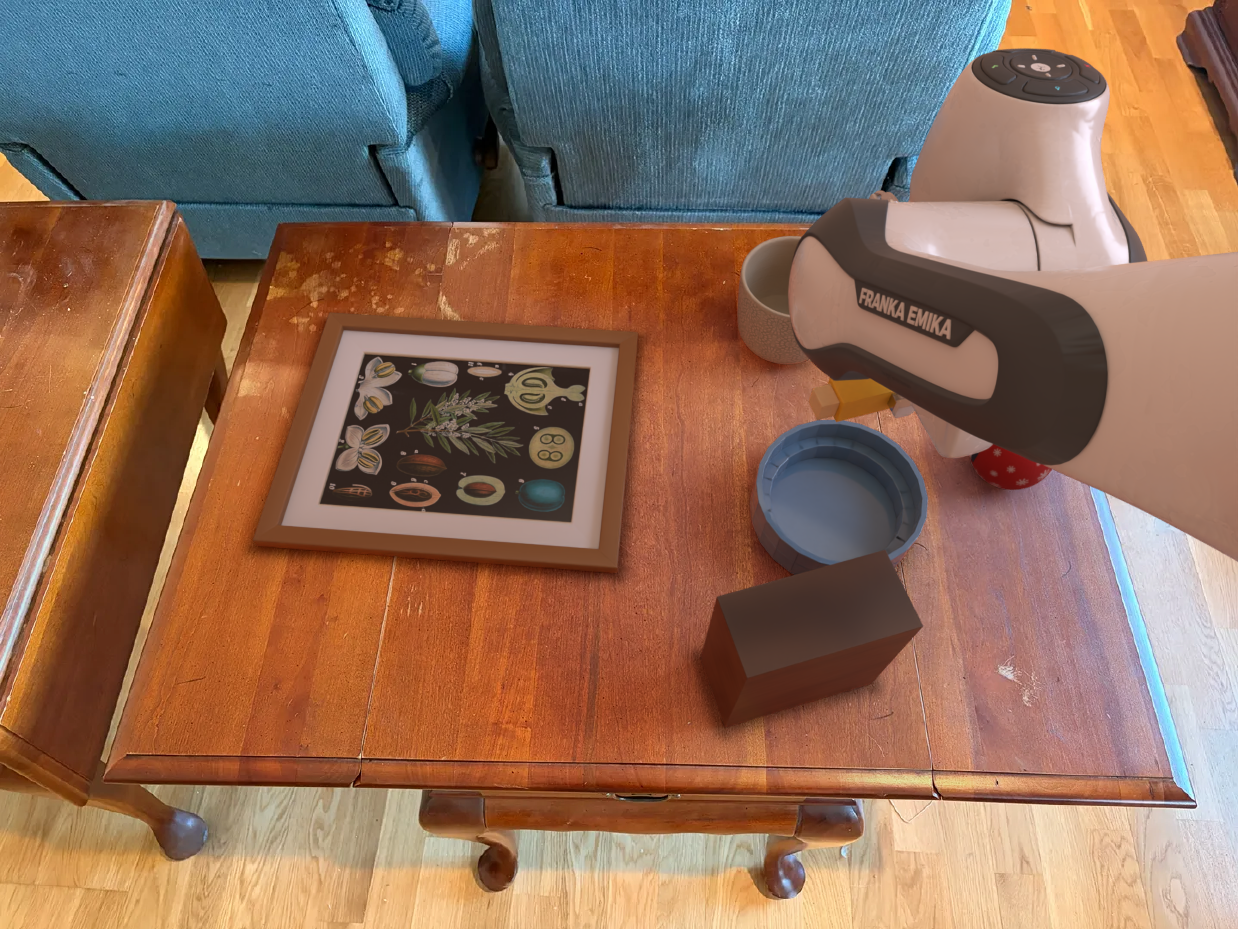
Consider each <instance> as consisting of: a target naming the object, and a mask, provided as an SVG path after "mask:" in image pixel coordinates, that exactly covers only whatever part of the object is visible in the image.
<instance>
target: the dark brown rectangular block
mask: <svg viewBox="0 0 1238 929" xmlns="http://www.w3.org/2000/svg"><path fill="white" fill-rule="evenodd" d="M923 627H924V625H923V622H922V620H921V619H920V616H919V614H918V612H917V610H916V608H915V607H914V604H913V602H912V600H911V598H910V595H909V594H908V592H907V591H906V588H905V586H904V584H903V582H902V580H901V578H900V576H899V574H898V572H897V570H896V567H895V568H894V566H893V564H892V562H891V560H890V558H889V556H888V554H887V552H886V550H882V551H879V552H875V553H872V554H868V555H864V556H861V557H857V558H854V559H850V560H846V561H843V562H839V563H836V564H832V565H828V566H825V567H821V568H818V569H814V570H810V571H807V572H803V573H800V574H796V575H794V574H792V575H789V576H786V577H782V578H779V579H775V580H771V581H767V582H764V583H761V584H757V585H753V586H750V587H745V588H742V589H739V590H736V591H735V590H734V591H731V592H728V593H724V594H721V595H717V596H716V599H715V602H714V605H713V610H712V613H711V617H710V620H709V625H708V628H707V632H706V636H705V639H704V643H703V647H702V649H701V650H702V651H701V655H700V662H701V664H702V667H703V670H704V673H705V676H706V678H707V683H708V684H709V687H710V691H711V693H712V695H713V699H714V702H715V704H716V708H717V711H718V713H719V717H720V719H721V722H722V724H723V728H724V729H727V728H730V727H733V726H737V725H740V724H742V723H746V722H750V721H752V720H753V721H754V720H756V719H760V718H763V717H766V716H770V715H773V714H777V713H779V712H783V711H786V710H790V709H793V708H795V707H799V706H802V705H806V704H810V703H813V702H815V701H820V700H822V699H826V698H829V697H833V696H836V695H839V694H842V693H845V692H849V691H852V690H856V689H859V688H863V687H866V686H869V685H872V684H873V683H874V682H875V680H877V679H878V678H879V677H880V675H881V674H882V673H883V671H885V670H886V668H888V666H889V665H890V664H891V663H892V662H893V661H894V659H896V657H897V656H898V655H899V654H900V653H901V652H902V650H903V649H904V648H906V646H907V645H908V644H909V643H910V642H911V641H912V640H913V639H914V637H916V635H918V633H919V632H920V631H921V630H922V629H923Z"/></svg>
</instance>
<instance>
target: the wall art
mask: <svg viewBox="0 0 1238 929" xmlns="http://www.w3.org/2000/svg"><path fill="white" fill-rule="evenodd" d="M638 344H639V332H638V331H627V330H626V331H625V330H612V329H611V330H610V329H595V328H579V327H563V326H549V325H533V324H518V323H517V324H516V323H504V322H503V323H502V322H501V323H500V322H486V321H471V320H456V319H454V320H453V319H438V318H424V317H423V318H421V317H409V316H408V317H407V316H392V315H391V316H390V315H375V314H359V313H346V312H342V313H341V312H329V313H328V315H327V318H326V322H325V324H324V328H323V330H322V332H321V336H320V339H319V342H318V345H317V348H316V351H315V353H314V357H313V359H312V362H311V365H310V368H309V371H308V375H307V378H306V380H305V384H304V387H303V389H302V393H301V396H300V398H299V402H298V405H297V408H296V410H295V412H294V416H293V419H292V423H291V425H290V427H289V428H290V429H289V431H288V433H287V434H288V435H287V437H286V440H285V443H284V446H283V448H282V452H281V455H280V458H279V461H278V464H277V466H276V470H275V473H274V475H273V479H272V481H271V485H270V488H269V491H268V494H267V497H266V500H265V502H264V505H263V508H262V510H261V513H260V517H259V521H258V523H257V526H256V529H255V533H254V535H253V538H252V542H253V543H254V544H255V545H256V547H264V548H265V547H266V548H277V549H278V548H280V549H293V550H303V551H304V550H305V551H318V552H319V551H320V552H330V553H331V552H333V553H344V554H356V555H357V554H359V555H372V556H382V557H383V556H384V557H385V556H386V557H398V558H409V559H411V558H412V559H413V558H414V559H422V560H423V559H424V560H438V561H448V562H449V561H452V562H465V563H475V564H476V563H479V564H488V565H489V564H491V565H505V566H515V567H516V566H517V567H529V568H530V567H531V568H541V569H542V568H545V569H554V570H558V569H559V570H569V571H583V572H596V573H608V574H617V573H618V571H619V570H618V569H619V558H620V547H621V537H622V536H621V535H622V534H621V533H622V526H623V525H622V524H623V514H624V501H625V491H626V481H627V480H626V478H627V467H628V459H629V458H628V457H629V448H630V447H629V446H630V436H631V435H630V434H631V422H632V411H633V401H634V390H635V378H636V366H637V358H638V357H637V356H638Z"/></svg>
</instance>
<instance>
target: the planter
mask: <svg viewBox="0 0 1238 929" xmlns="http://www.w3.org/2000/svg"><path fill="white" fill-rule="evenodd" d="M801 237H802V236H799V235H784V236H778V237H774V238H773V237H772V238H770V239H767V240H765V241H762V242H760V243H759V244H757V245H756V246H754V247H753V248H752V249H751V250H750V251H749V252H748V253H747V255H746V256H745V258H744V260H743V262H742V265H741V270H740V274H739V280H738V281H739V283H738V291H737V292H738V293H737V295H738V296H737V310H736V311H737V327H738V332H739V334H740V337H741V339H742V341H743V343H744V344H745V346H746V347H747V348H748V349H749V350H750V351H751V352H752V353H753V354H754V355H756V356H757V357H759V358H761V359H763V360H765V361H767V362H770V363H773V364H777V365H778V364H779V365H796V364H800V363H804V362H807V361H810V359H809V358H808V357H807V356H806V355H805V354H804V353H803V351H802V350H801V349H800V347H799V346H798V344H797V342H796V340H795V337H794V334H793V331H792V326H791V321H790V313H789V301H788V288H789V277H790V269H791V264H792V259H793V255H794V252H795V249H796V246H797V244H798V242H799V240H800V239H801Z"/></svg>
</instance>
